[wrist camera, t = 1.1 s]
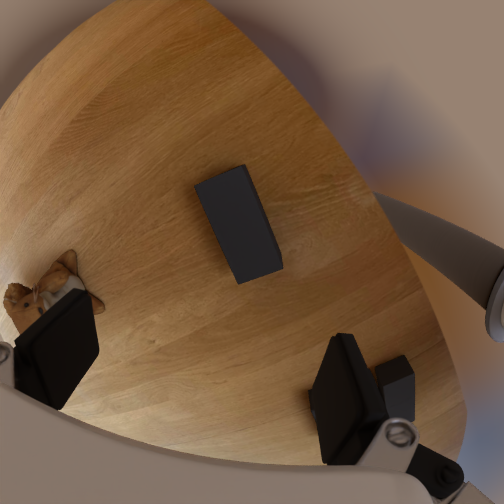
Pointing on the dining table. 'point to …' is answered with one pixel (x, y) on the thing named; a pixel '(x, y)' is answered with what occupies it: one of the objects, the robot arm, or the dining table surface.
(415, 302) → the dining table surface
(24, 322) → the stuffed squirrel
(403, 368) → the base pad
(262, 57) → the dining table surface
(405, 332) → the dining table surface
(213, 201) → the pad
